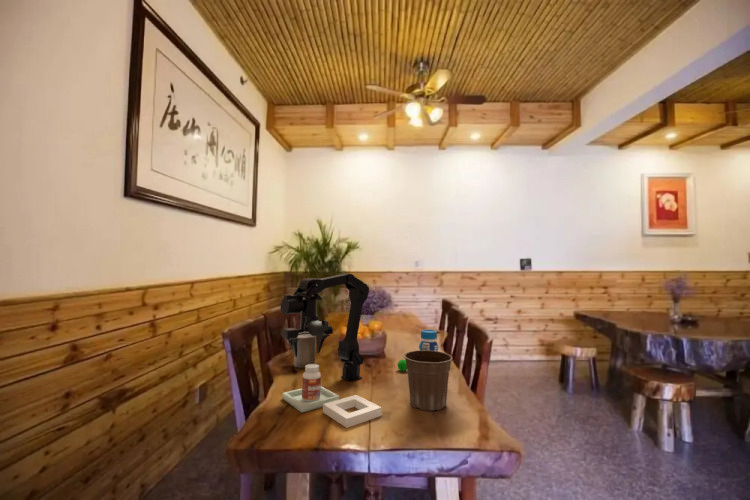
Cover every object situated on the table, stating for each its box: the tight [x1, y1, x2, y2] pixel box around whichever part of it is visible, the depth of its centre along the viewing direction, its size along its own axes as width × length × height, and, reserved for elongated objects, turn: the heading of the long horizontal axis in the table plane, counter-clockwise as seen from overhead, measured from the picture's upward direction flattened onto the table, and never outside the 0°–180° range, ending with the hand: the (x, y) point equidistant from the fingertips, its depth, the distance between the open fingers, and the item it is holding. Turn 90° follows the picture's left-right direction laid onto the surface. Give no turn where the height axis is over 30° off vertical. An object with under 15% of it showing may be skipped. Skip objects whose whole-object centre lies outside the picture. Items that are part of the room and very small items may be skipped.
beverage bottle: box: [418, 329, 439, 351], centre depth 138 cm, size 8×8×20 cm
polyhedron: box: [397, 359, 407, 372], centre depth 149 cm, size 5×5×5 cm
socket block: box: [322, 394, 382, 429], centre depth 103 cm, size 13×13×2 cm
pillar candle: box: [293, 334, 316, 369], centre depth 154 cm, size 10×10×15 cm
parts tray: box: [282, 385, 340, 414], centre depth 113 cm, size 14×14×2 cm
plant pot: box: [403, 349, 453, 412], centre depth 112 cm, size 16×16×16 cm
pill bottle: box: [301, 363, 322, 402], centre depth 113 cm, size 6×6×11 cm
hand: (307, 354), depth 122 cm, fingers open, 9 cm apart
